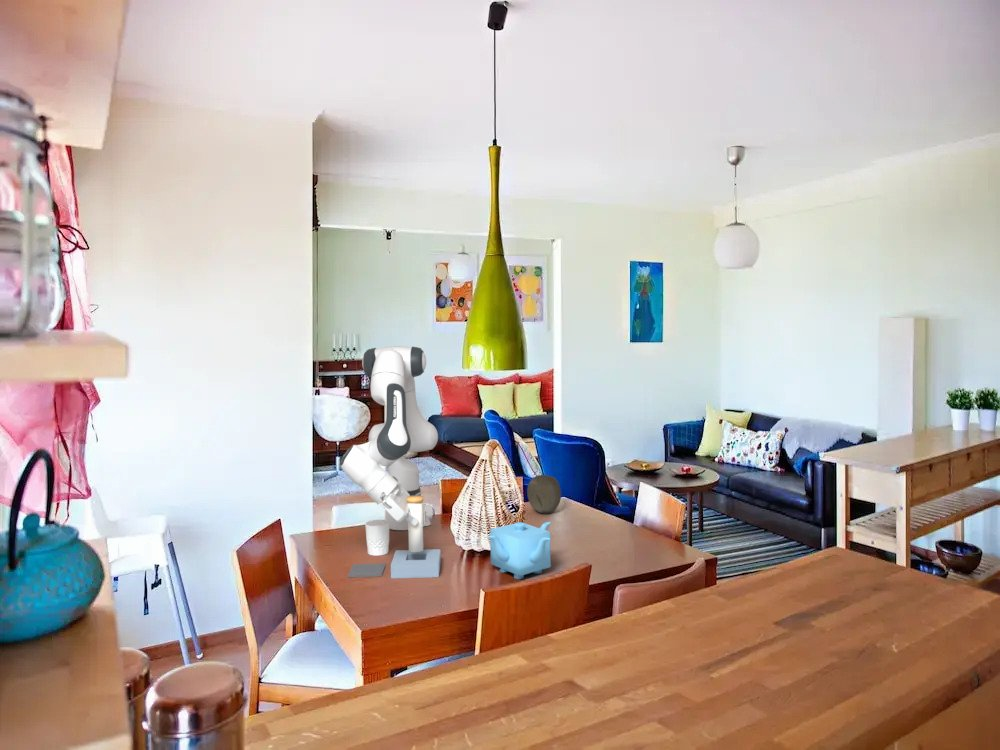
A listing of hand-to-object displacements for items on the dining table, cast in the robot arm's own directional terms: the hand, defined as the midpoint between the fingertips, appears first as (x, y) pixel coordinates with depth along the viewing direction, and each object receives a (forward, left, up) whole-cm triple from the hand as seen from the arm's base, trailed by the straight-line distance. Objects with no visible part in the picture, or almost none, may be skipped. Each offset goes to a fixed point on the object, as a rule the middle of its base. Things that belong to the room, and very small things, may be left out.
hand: (417, 520), depth 210 cm
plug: (0, -1, -9) cm, 9 cm away
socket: (-1, -1, -15) cm, 15 cm away
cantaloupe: (-65, +45, -15) cm, 80 cm away
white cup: (-19, -15, -15) cm, 28 cm away
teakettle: (+4, +31, -15) cm, 35 cm away
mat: (-1, -16, -15) cm, 22 cm away
